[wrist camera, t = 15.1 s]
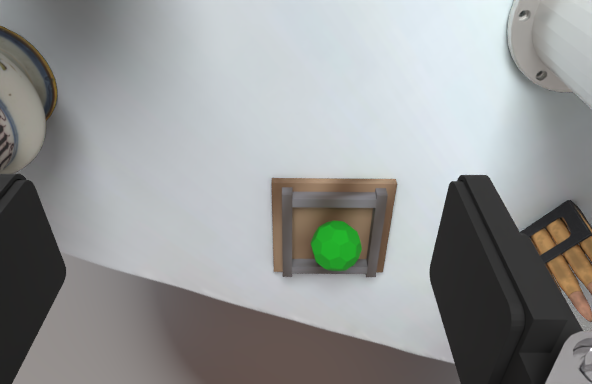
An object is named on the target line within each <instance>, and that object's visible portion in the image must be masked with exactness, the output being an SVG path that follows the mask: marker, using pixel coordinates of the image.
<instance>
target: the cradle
mask: <svg viewBox="0 0 592 384" xmlns="http://www.w3.org/2000/svg"><path fill="white" fill-rule="evenodd" d="M396 187H397V182H396V179H312V178H272V217H273V256H274V272H283V277H292V273H316V274H366V277H376V272H383V268H384V261H385V255H386V249H387V243H388V237H389V231H390V224H391V218H392V212H393V206H394V200H395V193H396ZM330 221H344V222H345V223H347V224H348V225H349V226H351V227H352V228H353V229H355V230H356V231H357V232H358V235H359V238H360V241H361V247H362V250H361V253H360V256H359V259H358V260H357V262H356V263H355V264H354V265H353V266H352V267H350V268H348V269H347V270H345V271H331V270H326V269H324V268H323V267H322V266H321V265H319V264H318V263H317V262H316V260H315V257H314V254H313V250H312V247H311V241H312V238H313V235H314V233H315V232H316V230H317V229H318V227H319V226H321V225H323V224H325V223H326V222H330Z"/></svg>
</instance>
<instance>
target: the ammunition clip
mask: <svg viewBox="0 0 592 384" xmlns="http://www.w3.org/2000/svg"><path fill="white" fill-rule="evenodd" d="M567 227H568V228H567ZM568 229H569V230H570V231H571V233H570V231H569V230H568ZM520 233H524V234H526V235H528V237H529V238H530V239H531V241H532V242H533V244H534V246H535V248H536V249H537V248H538V249H537V251H538V250H539V251H538V253H539V255H540V256H541V258H542V260H543V262H544V263H545V265H546V264H547V265H546V267H547V269H548V270H549V272H550V274H551V276H552V277H553V276H554V277H553V279H554V278H555V279H556V281H557V283H558V284H559V286H560V287H561V289H562V290H563V291H564V292H565V293H566V294H567V296H568V298H569V299H570V300H571V302H572V303H573V305H574V306H575V308H576V309H577V310H578V312H579V313H580V314H581V315H582V316H583V317H584V318H585V319H587V320H588V321H590V322H592V312H591V309H590V306H589V304H588V302H587V300H586V298H585V296H584V294H583V292H582V290H581V288H580V286H579V283H578V280H577V278H576V277H575V275H574V273H575V274H576V276H577V277H578V278H579V280H580V281H581V282H582V283H583V284H584V285H585V287H586V288H587V289H588V290H589V292H590V293H591V295H592V264H591V263H590V261H591V262H592V227H591V226H590V224H589V223H588V221H587V220H586V218H585V216H584V215H583V213H582V212H581V210H580V209H579V208H578V207H577V206H576V205H575V204H574V203H573V202H572V201H571V200H568V201H566V202H565V203H563V204H562V205H560V206H559V207H557V208H556V209H554V210H553V211H551V212H550V213H548V214H547V215H545V216H544V217H542V218H541V219H539V220H538V221H536V222H535V223H533V224H532V225H530V226H529V227H527V228H526V229H524V230H523V231H521V232H520ZM552 238H553V239H552ZM553 240H554V241H555V242H554V241H553ZM555 243H556V244H557V245H556V244H555ZM578 244H579V245H578ZM540 253H541V254H540ZM562 254H563V255H562ZM585 254H586V255H587V256H588V258H589V259H590V261H589V260H588V258H587V257H586V255H585ZM568 264H569V265H570V267H571V268H572V270H573V271H574V273H573V272H572V270H571V268H570V267H569V265H568ZM552 274H553V275H552ZM555 279H554V281H555ZM556 281H555V283H556ZM557 283H556V284H557ZM558 284H557V286H558ZM559 286H558V288H559ZM559 290H560V288H559ZM560 291H561V290H560Z"/></svg>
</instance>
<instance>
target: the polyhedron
mask: <svg viewBox="0 0 592 384" xmlns="http://www.w3.org/2000/svg"><path fill="white" fill-rule="evenodd" d="M311 247H312V250H313V254H314V257H315V260H316V262H317V263H318V264H319V265H321V266H322V267H323V268H324V269H326V270H331V271H345V270H347V269H348V268H350V267H352V266H353V265H354V264H355V263H356V262H357V260H358V259H359V256H360V253H361V250H362V247H361V241H360V238H359V235H358V232H357V231H356V230H355V229H353V228H352V227H351V226H349V225H348V224H347V223H345V222H344V221H330V222H326V223H325V224H323V225H321V226H319V227H318V229H317V230H316V232H315V233H314V235H313V238H312V241H311Z"/></svg>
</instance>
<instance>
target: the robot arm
mask: <svg viewBox="0 0 592 384" xmlns="http://www.w3.org/2000/svg"><path fill="white" fill-rule="evenodd" d="M522 11H523V14H521V15H519V14H520V13H521V12H522ZM507 36H508V46H509V49H510V53H511V56H512V59H513V60H514V62H515V63H516V65H517V67H518V68H519V70H520V71H521V72H522V73H523V74H524V75H525V76H526V77H527V78H528V79H529V80H531V81H532V82H533V83H534V84H536V85H538V86H541V87H543V88H545V89H547V90H552V91H557V92H574V93H575V94H576V95H577V96H578V97H579V98H580V99H581V100H582V101H583V102H584V103H585V104H586V105H587V106H588V107H589V108H590V109H592V0H514V2H513V5H512V8H511V11H510V15H509V20H508V28H507ZM538 72H539V73H538ZM65 276H66V267H65V264H64V261H63V259H62V256H61V253H60V251H59V248H58V246H57V243H56V240H55V238H54V235H53V233H52V230H51V227H50V225H49V222H48V220H47V217H46V215H45V212H44V209H43V207H42V204H41V202H40V199H39V196H38V194H37V191H36V189H35V186H34V184H33V183H32V182H31V181H29V180H26V178H25V177H24V176H23V175H21V174H0V384H12V383H13V380H14V379H15V377H16V375H17V373H18V371H19V369H20V367H21V365H22V363H23V361H24V359H25V357H26V355H27V353H28V351H29V349H30V347H31V345H32V343H33V341H34V339H35V337H36V336H37V334H38V332H39V329H40V328H41V326H42V324H43V322H44V320H45V318H46V316H47V314H48V312H49V310H50V308H51V306H52V304H53V302H54V300H55V298H56V296H57V294H58V292H59V290H60V288H61V287H62V285H63V282H64V280H65ZM430 281H431V285H432V288H433V292H434V295H435V298H436V302H437V305H438V308H439V312H440V315H441V318H442V322H443V325H444V328H445V332H446V335H447V338H448V342H449V345H450V349H451V352H452V355H453V359H454V362H455V365H456V368H457V372H458V375H459V378H460V382H461V384H592V331H583V330H582V328H581V326H580V325H579V323H578V321H577V319H576V318H575V316H574V314H573V312H572V311H571V309H570V307H569V305H568V304H567V302H566V300H565V298H564V297H563V295H562V293H561V291H560V290H559V288H558V286H557V284H556V283H555V281H554V279H553V277H552V276H551V274H550V272H549V270H548V269H547V267H546V265H545V263H544V262H543V260H542V258H541V256H540V255H539V253H538V251H537V249H536V248H535V246H534V244H533V242H532V241H531V239H530V238H529V237H528V235H526V234H524V233H520V232H519V230H518V228H517V227H516V225H515V223H514V221H513V219H512V218H511V216H510V214H509V212H508V210H507V209H506V207H505V205H504V203H503V201H502V200H501V198H500V196H499V194H498V192H497V191H496V189H495V187H494V185H493V183H492V182H491V180H490V178H489V177H488V176H486V175H461V176H459V178H458V180H457V181H452V182H451V183H450V184H449V188H448V192H447V196H446V200H445V205H444V209H443V213H442V217H441V222H440V226H439V230H438V235H437V239H436V243H435V247H434V252H433V256H432V260H431V264H430Z"/></svg>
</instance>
